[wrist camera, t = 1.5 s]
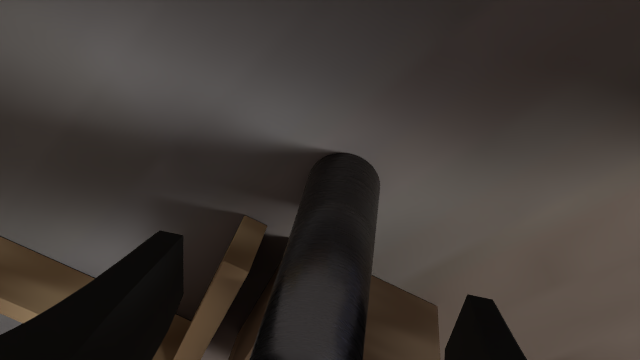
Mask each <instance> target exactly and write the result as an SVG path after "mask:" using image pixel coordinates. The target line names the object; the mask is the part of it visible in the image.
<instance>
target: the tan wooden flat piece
mask: <svg viewBox="0 0 640 360" xmlns="http://www.w3.org/2000/svg"><path fill="white" fill-rule="evenodd" d="M266 228H267V226H266V225H264V224H262V223H260V222H258V221H256V220H254V219H252V218H249V217H247V216H244V218H243V220H242V222H241V223H240V225H239V227H238V229H237V231H236V233H235V235H234V237H233V239H232V241H231V243H230V245H229V247H228V249H227V251H226V253H225V255H224V257H223V259H222V261H221V263H220V265H219V267H218V269H217V271H216V273H215V275H214V277H213V279H212V281H211V283H210V285H209V287H208V289H207V291H206V293H205V295H204V297H203V299H202V301H201V303H200V305H199V307H198V309H197V311H196V313H195V315H194V317H193V319H192V321H189V320H187V319H185V318H183V317H180V316H178V315H176V314H175V316H174V318H173V321H172V323H171V325H170V328H169V330H168V332H167V334H166V336H165V337H164V339H163V341H162V343H161V345H160V347H159V348H158V350H157V352H156V354H155V356H154V357H153V359H152V360H200V359H201V358H202V356H203V354H204V352H205V350H206V349H207V347H208V345H209V343H210V341H211V340H212V338H213V336H214V334H215V332H216V331H217V329H218V327H219V325H220V323H221V322H222V320H223V318H224V316H225V314H226V313H227V311H228V309H229V307H230V305H231V304H232V302H233V300H234V298H235V296H236V295H237V293H238V291H239V289H240V287H241V286H242V284H243V282H244V280H245V278H246V277H247V275H248V273H249V271H250V268H251V266H252V263H253V261H254V258H255V256H256V253H257V251H258V248H259V246H260V243H261V241H262V238H263V235H264V233H265V230H266ZM94 279H95V278H92V277H90V276H88V275H86V274H83V273H81V272H79V271H77V270H74V269H72V268H70V267H68V266H65V265H63V264H61V263H59V262H56V261H54V260H52V259H50V258H47V257H45V256H43V255H41V254H38V253H36V252H34V251H32V250H29V249H27V248H25V247H22V246H20V245H18V244H16V243H13V242H11V241H9V240H7V239H4V238H2V237H0V313H1V314H3V315H5V316H8V317H10V318H12V319H15V320H17V321H19V322H22V323H25V322H26V321H28V320H30V319H32V318H34V317H35V316H37V315H39V314H41V313H42V312H44V311H46V310H47V309H49V308H51V307H52V306H54V305H56V304H57V303H59V302H60V301H62V300H64V299H65V298H67V297H68V296H70V295H71V294H73V293H74V292H76V291H77V290H79V289H80V288H82V287H83V286H85V285H87V284H88V283H89V282H91V281H92V280H94Z"/></svg>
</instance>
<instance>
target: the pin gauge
mask: <svg viewBox="0 0 640 360" xmlns="http://www.w3.org/2000/svg"><path fill="white" fill-rule="evenodd" d="M379 193H380V181H379V177H378V174H377V172H376V171H375V169H374V168H373V167H372V166H371V165H370V164H369V163H368V162H367V161H366V160H364V159H362V158H360V157H358V156H356V155H352V154H347V153H337V154H332V155H328V156H326V157H324V158H322V159H321V160H319V161H318V162H317V163H316V164H315V165H314V167H313V168H312V170H311V172H310V175H309V178H308V181H307V184H306V187H305V190H304V193H303V196H302V199H301V203H300V206H299V209H298V212H297V215H296V218H295V221H294V224H293V227H292V230H291V233H290V236H289V239H288V242H287V246H286V249H285V252H284V255H283V258H282V261H281V264H280V267H279V270H278V273H277V276H276V279H275V282H274V285H273V289H272V292H271V295H270V298H269V301H268V304H267V307H266V310H265V313H264V316H263V319H262V322H261V325H260V328H259V331H258V335H257V338H256V341H255V344H254V347H253V350H252V353H251V356H250V359H249V360H363V354H364V343H365V333H366V323H367V313H368V303H369V293H370V283H371V273H372V263H373V253H374V243H375V233H376V223H377V213H378V203H379Z"/></svg>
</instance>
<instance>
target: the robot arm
mask: <svg viewBox="0 0 640 360" xmlns="http://www.w3.org/2000/svg"><path fill="white" fill-rule="evenodd" d="M182 296H183V235H179V234H174V233H169V232H164V231H159V232H157V233H155V234H154V235H153V236H151V237H150V238H149V239H148V240H146V241H145V242H144V243H142V244H141V245H140V246H138V247H137V248H136V249H135V250H133V251H132V252H131V253H129V254H128V255H127V256H125V257H124V258H123V259H121V260H120V261H119V262H117V263H116V264H115V265H113V266H112V267H110V268H109V269H108V270H106V271H105V272H104V273H102V274H101V275H99V276H98V277H97V278H95V279H94V280H92V281H91V282H89V283H88V284H87V285H85V286H83V287H82V288H80V289H79V290H77V291H76V292H74V293H73V294H71V295H70V296H68V297H67V298H65V299H64V300H62V301H60V302H59V303H57V304H56V305H54V306H52V307H51V308H49V309H47V310H46V311H44V312H42V313H41V314H39V315H37V316H35V317H34V318H32V319H30V320H28V321H26V322H25V323H23V324H21V325H19V326H17V327H15V328H14V329H12V330H10V331H8V332H6V333H4V334H1V335H0V360H152V359H153V357H154V356H155V354H156V352H157V350H158V348H159V347H160V345H161V343H162V341H163V339H164V337H165V336H166V334H167V332H168V330H169V328H170V325H171V323H172V321H173V318H174V316H175V314H176V311H177V309H178V306H179V304H180V301H181V298H182ZM445 360H527V359H526V357H525V356H524V354H523V352H522V351H521V349H520V347H519V345H518V344H517V342H516V340H515V338H514V337H513V335H512V333H511V331H510V330H509V328H508V326H507V324H506V322H505V321H504V319H503V317H502V315H501V313H500V312H499V310H498V308H497V306H496V305H495V303H494V301H493V300H492V299H487V298H482V297H477V296H473V295H467V297H466V299H465V302H464V304H463V307H462V309H461V312H460V314H459V316H458V319H457V321H456V324H455V326H454V329H453V331H452V334H451V336H450V338H449V341H448V343H447V346H446V348H445Z"/></svg>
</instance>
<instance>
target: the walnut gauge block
mask: <svg viewBox="0 0 640 360" xmlns="http://www.w3.org/2000/svg"><path fill="white" fill-rule="evenodd" d="M280 264H281V262H280ZM280 264H279V266H278V267H277V269H276V271H275V273H274V274H273V276H272V278H271V279H270V281H269V283H268V284H267V286H266V288H265V289H264V291H263V293H262V294H261V296H260V298H259V299H258V301H257V303H256V304H255V306H254V308H253V309H252V311H251V313H250V314H249V316H248V318H247V319H246V321H245V323H244V324H243V326H242V328H241V329H240V331H239V333H238V335H237V338H236V341H235V343H234V346H233V349H232V351H231V354H230V357H229V360H249V359H250V356H251V353H252V350H253V347H254V344H255V341H256V338H257V335H258V331H259V328H260V325H261V322H262V319H263V316H264V313H265V310H266V307H267V304H268V301H269V298H270V295H271V292H272V289H273V285H274V282H275V279H276V276H277V273H278V270H279V267H280ZM363 360H440V346H439V327H438V309H437V306H435V305H433V304H431V303H429V302H427V301H424V300H422V299H420V298H418V297H416V296H414V295H412V294H410V293H408V292H405V291H403V290H401V289H399V288H397V287H395V286H393V285H391V284H389V283H386V282H384V281H382V280H380V279H378V278H376V277H374V276H372V275H371V283H370V293H369V303H368V313H367V323H366V333H365V343H364V354H363Z"/></svg>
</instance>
